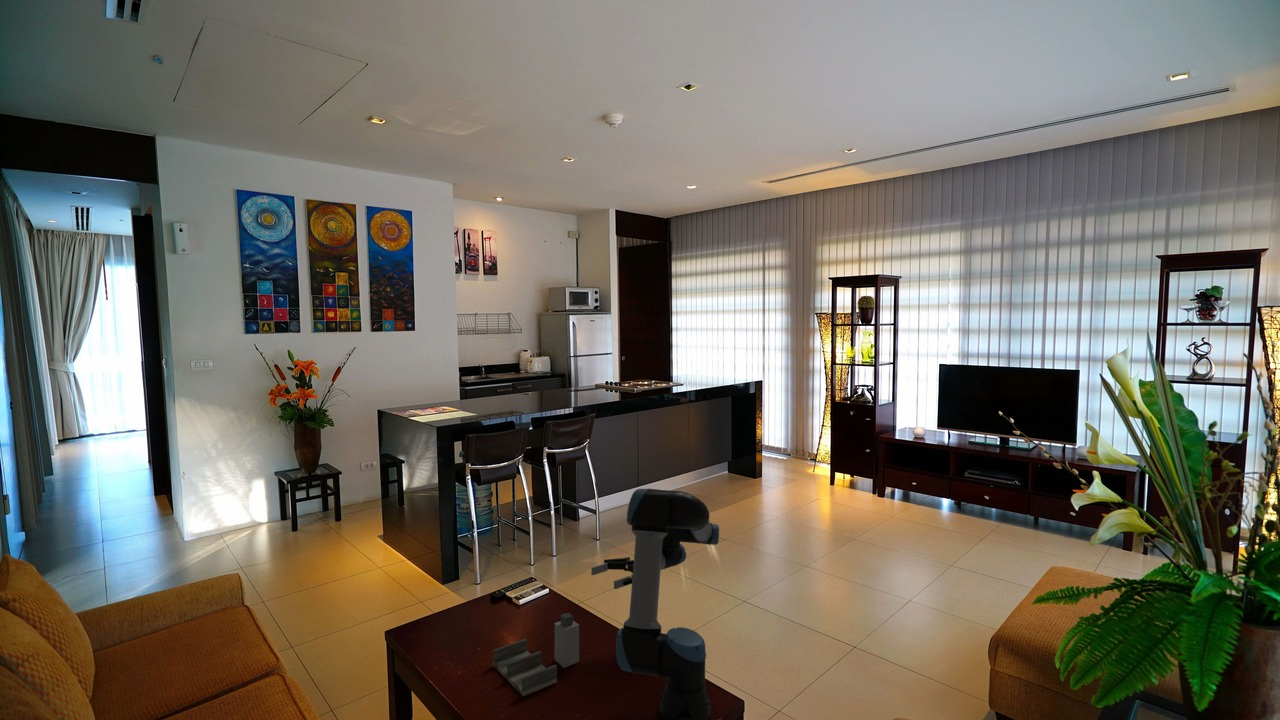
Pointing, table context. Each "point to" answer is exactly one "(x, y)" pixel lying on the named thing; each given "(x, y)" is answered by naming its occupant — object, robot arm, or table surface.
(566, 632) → the grey square bottle
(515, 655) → the slot rack
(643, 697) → the table surface
